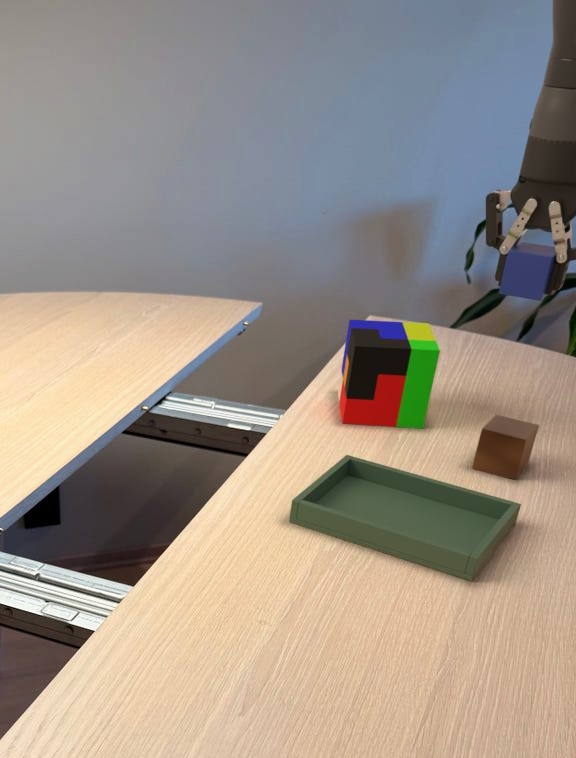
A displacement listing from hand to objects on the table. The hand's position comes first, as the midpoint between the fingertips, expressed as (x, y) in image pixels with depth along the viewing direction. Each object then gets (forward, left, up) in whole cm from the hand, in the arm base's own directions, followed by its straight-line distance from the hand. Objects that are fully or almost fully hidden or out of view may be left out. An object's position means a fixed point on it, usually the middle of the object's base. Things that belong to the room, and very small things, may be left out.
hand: (526, 288), depth 118 cm
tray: (-2, +35, -16) cm, 39 cm away
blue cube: (0, 0, 0) cm, 0 cm away
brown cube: (-6, +15, -16) cm, 23 cm away
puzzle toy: (+12, +8, -16) cm, 22 cm away
